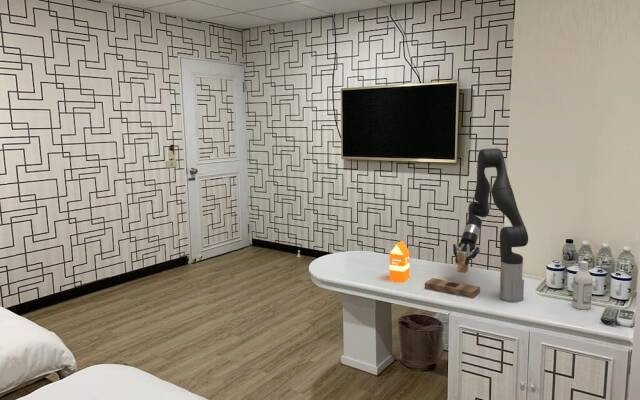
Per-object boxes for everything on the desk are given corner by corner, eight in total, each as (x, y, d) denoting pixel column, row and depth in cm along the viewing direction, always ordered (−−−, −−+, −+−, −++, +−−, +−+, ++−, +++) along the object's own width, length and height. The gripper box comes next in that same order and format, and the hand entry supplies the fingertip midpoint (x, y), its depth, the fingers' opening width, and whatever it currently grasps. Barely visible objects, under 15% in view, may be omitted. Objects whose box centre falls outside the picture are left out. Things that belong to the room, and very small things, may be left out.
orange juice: (409, 278, 247) (409, 240, 244) (403, 283, 239) (403, 244, 236) (395, 276, 251) (395, 239, 248) (389, 280, 243) (389, 243, 240)
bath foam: (592, 306, 202) (595, 261, 199) (588, 311, 197) (591, 265, 194) (575, 302, 207) (577, 258, 204) (570, 307, 202) (572, 262, 199)
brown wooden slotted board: (480, 292, 222) (480, 286, 222) (473, 298, 215) (473, 292, 215) (432, 283, 237) (432, 278, 236) (424, 288, 230) (424, 282, 229)
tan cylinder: (468, 271, 235) (468, 251, 234) (465, 273, 232) (465, 253, 231) (460, 270, 238) (460, 250, 237) (457, 271, 235) (457, 252, 233)
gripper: (455, 229, 243) (445, 257, 235) (482, 232, 234) (473, 261, 226) (458, 237, 248) (449, 265, 240) (486, 240, 239) (477, 269, 231)
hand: (461, 263), depth 233 cm, fingers closed on tan cylinder, 4 cm apart
